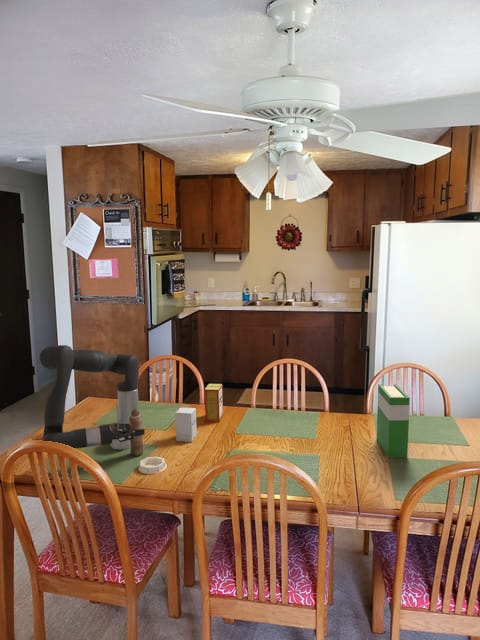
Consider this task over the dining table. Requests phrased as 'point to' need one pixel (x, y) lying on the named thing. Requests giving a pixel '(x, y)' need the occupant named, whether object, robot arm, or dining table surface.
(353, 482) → the dining table surface
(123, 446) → the ramekin
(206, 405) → the baking soda box
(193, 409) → the supplement box
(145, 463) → the ring coaster
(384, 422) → the hardback book
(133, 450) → the pepper mill
